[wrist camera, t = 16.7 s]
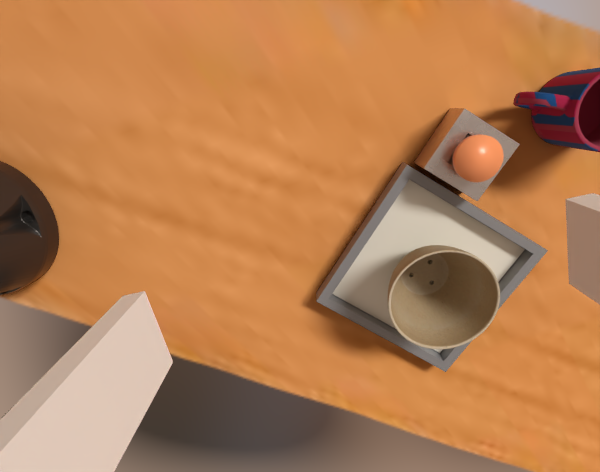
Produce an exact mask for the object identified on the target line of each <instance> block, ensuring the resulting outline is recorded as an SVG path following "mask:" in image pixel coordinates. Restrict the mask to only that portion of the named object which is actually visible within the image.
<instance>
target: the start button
mask: <svg viewBox="0 0 600 472" xmlns="http://www.w3.org/2000/svg"><path fill="white" fill-rule="evenodd" d="M503 157H504V154H503V149H502V146H501V144H500V143H499V142H498V141H497V140H496V139H495V138H493V137H491V136H487V135H482V134H476V135H472V136H469V137H467V138H465V139H464V140H462V141H461V142H460V143H459V144H458V146H457V147H456V149H455V151H454V153H453V155H452V162H453V167H454V170H455V172H456V173H457V174H458V175H459V176H460V177H461V178H463V179H465V180H467V181H470V182H483V181H486V180H488V179H490V178H492V177H493V176H494V175H495V174H496V173H497V172H498V171H499V169H500V167H501V165H502V163H503Z"/></svg>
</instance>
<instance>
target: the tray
mask: <svg viewBox="0 0 600 472" xmlns="http://www.w3.org/2000/svg"><path fill="white" fill-rule="evenodd" d="M429 245H444V246H450V247H455V248H458V249H461V250H464V251H466V252H469V253H471V254H473V255H475V256H476V257H478V258H479V259H481V260H482V261H484V262H485V263H486V264H487V265H488V266H489V267H490V268H491V270H492V271H493V272H494V274H495V276H496V278H497V281H498V284H499V288H500V303H499V308H500V307H501V306H502V304H503V303H504V302H505V301H506V300H507V298H508V297H509V296H510V295H511V294H512V292H513V291H514V290H515V289H516V288H517V287H518V285H519V284H520V283H521V282H522V281H523V279H524V278H525V277H526V276H527V275H528V274H529V272H530V271H531V270H532V269H533V268H534V266H535V265H536V264H537V263H538V262H539V260H540V259H541V258H542V257H543V256H544V255H545V253H546V252H547V251H548V250H546V249H544V248H543V247H541V246H540V245H538V244H536V243H535V242H533V241H532V240H530V239H528V238H527V237H525V236H523V235H522V234H520V233H518V232H517V231H515V230H513V229H512V228H510V227H509V226H507V225H505V224H504V223H502V222H500V221H499V220H497V219H495V218H494V217H492V216H491V215H489V214H487V213H486V212H484V211H482V210H481V209H479V208H477V207H476V206H474V205H473V204H471V203H469V202H468V201H466V200H464V199H463V198H461V197H459V196H458V195H456V194H455V193H453V192H451V191H450V190H448V189H446V188H445V187H443V186H441V185H440V184H438V183H436V182H435V181H433V180H432V179H430V178H428V177H427V176H425V175H423V174H422V173H420V172H418V171H417V170H415V169H414V168H412V167H410V166H409V165H407V164H405V163H404V162H402V164H401V165H400V167H399V168H398V170H397V171H396V173H395V174H394V176H393V177H392V179H391V180H390V182H389V183H388V185H387V186H386V188H385V189H384V191H383V193H382V194H381V196H380V197H379V199H378V200H377V202H376V203H375V205H374V206H373V208H372V209H371V211H370V212H369V214H368V215H367V217H366V218H365V220H364V221H363V223H362V224H361V226H360V227H359V229H358V230H357V232H356V233H355V235H354V237H353V238H352V240H351V241H350V243H349V244H348V246H347V247H346V249H345V250H344V252H343V253H342V255H341V256H340V258H339V259H338V261H337V262H336V264H335V265H334V267H333V268H332V270H331V271H330V273H329V274H328V276H327V277H326V279H325V280H324V282H323V284H322V285H321V287H320V288H319V290H318V291H317V293H316V301H317V302H318V303H320V304H322V305H324V306H326V307H328V308H329V309H331V310H333V311H335V312H337V313H339V314H340V315H342V316H344V317H346V318H348V319H350V320H351V321H353V322H355V323H357V324H359V325H361V326H362V327H364V328H366V329H368V330H370V331H372V332H373V333H375V334H377V335H379V336H381V337H383V338H384V339H386V340H388V341H390V342H392V343H394V344H395V345H397V346H399V347H401V348H403V349H405V350H406V351H408V352H410V353H412V354H414V355H416V356H417V357H419V358H421V359H423V360H425V361H427V362H429V363H430V364H432V365H434V366H436V367H438V368H440V369H441V370H443V371H445V372H446V371H447V370H448V368H449V367H450V366H451V365H452V364H453V363H454V361H455V360H456V359H457V358H458V357H459V355H460V354H461V353H462V352H463V351H464V349H465V348H466V347H467V346H468V345H469V344H470V342H471V341H470V342H468V343H466V344H464V345H461V346H458V347H454V348H449V349H429V348H424V347H421V346H418V345H416V344H414V343H412V342H410V341H408V340H407V339H405V338H404V337H403V336H402V335H401V334H400V333H399V332H398V331H397V329H396V328H395V327H394V325H393V323H392V321H391V318H390V315H389V310H388V299H387V298H388V287H389V282H390V279H391V276H392V273H393V271H394V269H395V267H396V266H397V264H398V263H399V262H400V260H401V259H402V258H403V257H404V256H406V255H407V254H408V253H410V252H411V251H413V250H415V249H417V248H420V247H424V246H429ZM429 262H430V260H429V261H428V263H429ZM411 276H412V275H410V277H411ZM431 282H434V281H431ZM499 308H498V309H499Z"/></svg>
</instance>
